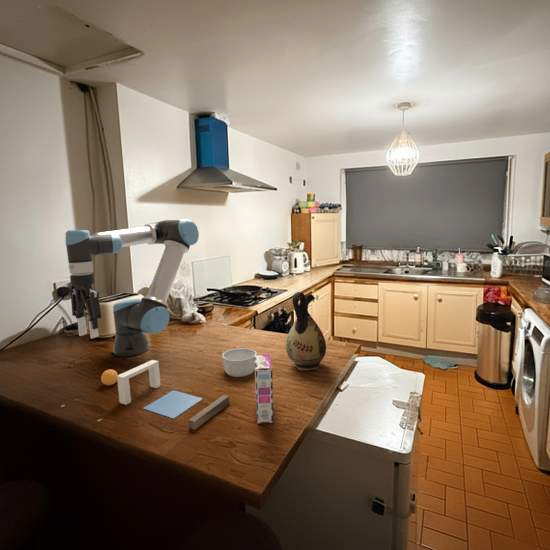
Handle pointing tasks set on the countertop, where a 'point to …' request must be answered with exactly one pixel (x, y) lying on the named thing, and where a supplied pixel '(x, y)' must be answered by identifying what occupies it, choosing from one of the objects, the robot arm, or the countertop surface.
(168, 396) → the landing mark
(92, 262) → the robot arm
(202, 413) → the stopper
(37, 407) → the countertop surface
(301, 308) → the ceramic jug
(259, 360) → the candy bar box
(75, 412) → the countertop surface
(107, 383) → the ball
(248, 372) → the ramekin
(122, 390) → the bridge
